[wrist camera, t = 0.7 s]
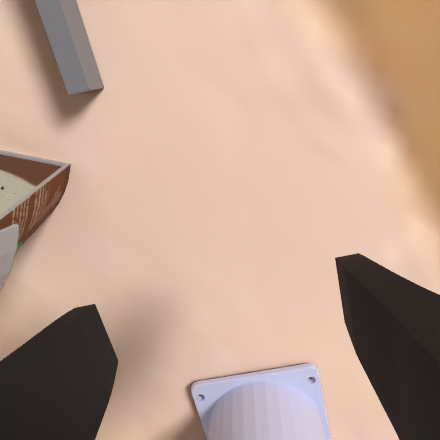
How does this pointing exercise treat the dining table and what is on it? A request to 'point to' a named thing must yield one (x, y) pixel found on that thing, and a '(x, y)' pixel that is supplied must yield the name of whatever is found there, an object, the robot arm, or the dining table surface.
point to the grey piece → (70, 45)
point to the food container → (26, 200)
